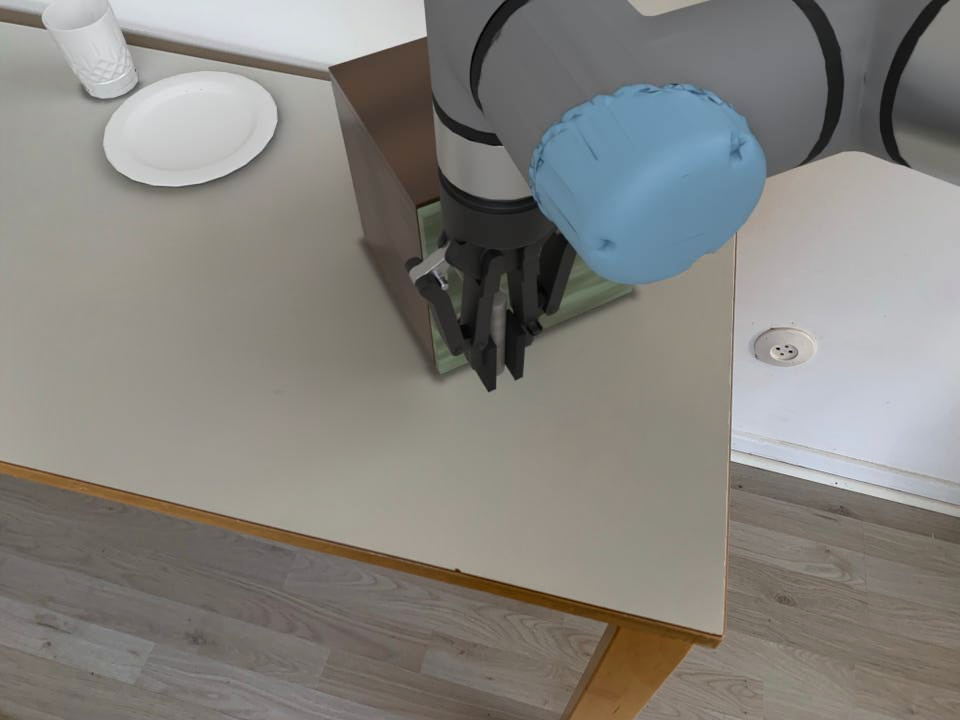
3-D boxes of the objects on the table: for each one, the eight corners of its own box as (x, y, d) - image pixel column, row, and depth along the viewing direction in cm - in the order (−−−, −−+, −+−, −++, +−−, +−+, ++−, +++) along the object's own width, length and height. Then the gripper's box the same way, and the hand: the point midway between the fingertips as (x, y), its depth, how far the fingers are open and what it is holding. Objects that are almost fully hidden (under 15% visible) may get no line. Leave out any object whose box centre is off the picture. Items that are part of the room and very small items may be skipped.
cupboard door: (667, 337, 73) (727, 172, 54) (469, 427, 68) (461, 279, 49) (626, 285, 76) (669, 114, 58) (435, 367, 71) (416, 208, 53)
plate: (243, 207, 83) (238, 196, 82) (76, 182, 86) (69, 171, 84) (303, 91, 94) (301, 79, 93) (154, 72, 97) (149, 60, 95)
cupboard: (625, 284, 77) (668, 111, 58) (434, 366, 71) (415, 204, 53) (540, 176, 85) (554, -4, 67) (365, 242, 80) (327, 66, 62)
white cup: (89, 110, 93) (49, 38, 84) (74, 76, 96) (34, 4, 88) (150, 89, 95) (117, 17, 86) (133, 57, 98) (100, -15, 90)
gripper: (579, 84, 46) (552, 308, 66) (357, 161, 42) (400, 373, 62) (646, 158, 42) (596, 371, 62) (410, 249, 39) (437, 444, 59)
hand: (498, 372), depth 62 cm, fingers closed on cupboard door, 2 cm apart
